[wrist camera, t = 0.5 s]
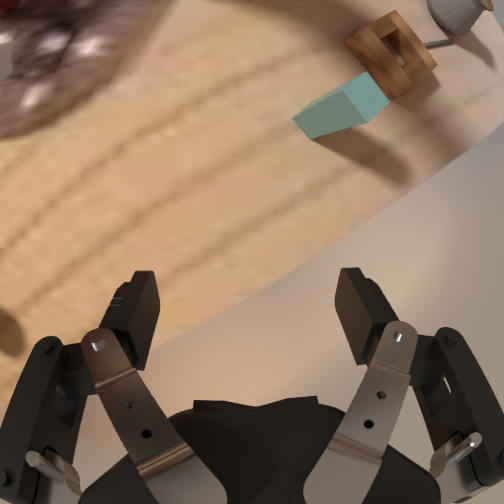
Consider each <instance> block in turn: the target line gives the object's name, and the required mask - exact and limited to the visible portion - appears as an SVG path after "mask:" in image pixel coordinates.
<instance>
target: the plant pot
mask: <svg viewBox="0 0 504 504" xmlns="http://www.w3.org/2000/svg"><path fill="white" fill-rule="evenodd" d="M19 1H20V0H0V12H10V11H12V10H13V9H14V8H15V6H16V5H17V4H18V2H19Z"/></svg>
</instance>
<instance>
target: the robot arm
mask: <svg viewBox="0 0 504 504" xmlns="http://www.w3.org/2000/svg"><path fill="white" fill-rule="evenodd" d="M335 308H336V312H337V314H338V317H339V319H340V322H341V324H342V327H343V329H344V332H345V335H346V337H347V340H348V343H349V345H350V348H351V351H352V354H353V356H354V359H355V362H356V364H357V365H363V364H366V365H367V367H368V369H367V371H366V373H365V376H364V378H363V380H362V382H361V384H360V386H359V388H358V390H357V393H356V394H355V396H354V398H353V400H352V402H351V404H350V406H349V408H348V410H347V412H346V413H345V412H343V411H342V410H339V409H337V408H335V407H331V406H328V405H324V404H319V403H318V399H317V396H308V397H297V398H287V399H283V400H280V401H276V402H273V403H269V404H266V405H262V406H258V407H254V406H247V405H243V404H238V403H233V402H228V401H210V400H194V403H193V408H192V409H188V410H184V411H181V412H179V413H176V414H174V415H172V416H171V417H169V418H167V417H166V415H165V414H164V412H163V411H162V410H161V408H160V407H159V405H158V404H157V402H156V401H155V399H154V398H153V396H152V395H151V393H150V391H149V390H148V388H147V387H146V385H145V384H144V382H143V381H142V379H141V377H140V376H139V374H138V372H137V371H136V370H141V371H144V369H145V365H146V361H147V357H148V354H149V350H150V346H151V342H152V338H153V335H154V331H155V327H156V324H157V320H158V317H159V313H160V298H159V294H158V289H157V284H156V279H155V275H154V272H153V271H135V273H134V275H133V277H132V279H131V281H130V282H124V283H123V284H122V285H121V286H120V287H119V288H118V289H117V290H116V292H115V294H114V296H113V299H112V300H111V302H110V306H108V308H107V310H106V313H105V315H104V317H103V319H102V321H101V323H100V325H99V328H97V329H93V330H91V331H90V332H88V333H87V334H86V335H85V336H84V337H83V339H82V341H81V342H80V343H75V344H69V345H63V344H62V342H61V340H60V339H59V338H58V337H55V336H48V337H45V338H42V339H41V340H39V341H38V342H37V343H36V344H35V346H34V347H33V349H32V352H31V354H30V356H29V358H28V360H27V362H26V364H25V367H24V369H23V371H22V373H21V376H20V378H19V380H18V383H17V385H16V387H15V390H14V392H13V395H12V397H11V400H10V403H9V405H8V408H7V411H6V413H5V416H4V419H3V422H2V425H1V428H0V498H2V499H3V500H6V501H7V502H9V503H11V504H451V503H462V502H464V501H466V500H468V499H470V498H472V497H474V496H476V495H478V494H480V493H481V492H483V491H485V490H487V489H488V488H490V487H492V486H493V485H495V484H497V483H498V482H500V481H501V480H503V479H504V414H503V411H502V409H501V407H500V405H499V403H498V401H497V399H496V397H495V395H494V392H493V390H492V389H491V386H490V384H489V382H488V381H487V379H486V377H485V375H484V373H483V371H482V369H481V367H480V366H479V364H478V362H477V360H476V359H475V357H474V355H473V353H472V351H471V350H470V348H469V346H468V344H467V343H466V341H465V340H464V338H463V336H462V335H461V334H460V333H459V332H458V331H456V330H455V329H452V328H449V327H443V328H440V329H439V330H438V331H437V332H436V335H435V336H425V335H418V334H417V332H416V330H415V328H413V327H412V326H411V325H410V324H408V323H406V322H402V321H399V319H398V317H397V316H396V314H395V312H394V310H393V309H392V307H391V305H390V304H389V302H388V301H387V299H386V297H385V295H384V294H383V292H382V290H381V289H380V287H379V286H378V284H376V283H375V282H374V281H373V280H371V279H370V278H365V276H364V275H363V273H362V272H361V270H360V268H358V267H355V268H342V269H341V271H340V275H339V280H338V285H337V289H336V294H335ZM444 378H446V379H447V382H448V384H449V386H450V389H451V394H450V392H449V390H448V388H447V385H446V383H445V381H444ZM409 385H410V386H412V387H413V390H414V392H415V395H416V398H417V401H418V403H419V406H420V409H421V412H422V414H423V418H424V421H425V423H426V426H427V429H428V433H429V435H430V439H431V442H432V445H433V449H434V452H435V453H434V454H433V455H432V458H431V461H430V466H431V467H430V469H429V472H428V471H427V470H425V469H423V468H422V467H421V466H419V465H418V464H416V463H415V462H413V461H412V460H410V459H409V458H407V457H406V456H404V455H403V454H401V453H400V452H399V451H397V450H396V449H395V448H393V447H392V446H390V445H389V444H388V442H389V439H390V437H391V434H392V432H393V429H394V426H395V424H396V421H397V418H398V416H399V413H400V410H401V407H402V404H403V401H404V398H405V395H406V392H407V389H408V386H409ZM94 394H98V395H99V397H100V399H101V402H102V404H103V406H104V408H105V410H106V412H107V414H108V416H109V418H110V420H111V422H112V424H113V426H114V428H115V430H116V432H117V434H118V436H119V438H120V439H121V441H122V443H123V445H124V447H125V448H126V450H127V452H128V454H127V455H125V456H124V457H123V458H122V459H121V460H120V461H119V462H117V463H116V464H115V465H114V466H113V467H112V468H110V469H109V470H108V471H107V472H106V473H104V474H103V475H102V476H101V477H100V478H99V479H97V480H96V481H95V482H94V483H93V484H91V485H90V486H89V487H88V488H87V489H85V491H84V492H83V493H82V492H81V489H80V479H79V475H78V472H77V471H76V469H75V468H74V467H73V466H72V464H73V458H74V453H75V448H76V443H77V438H78V433H79V429H80V424H81V420H82V416H83V412H84V408H85V404H86V400H87V397H88V395H94Z"/></svg>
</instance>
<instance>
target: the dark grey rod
mask: <svg viewBox="0 0 504 504" xmlns="http://www.w3.org/2000/svg"><path fill="white" fill-rule="evenodd" d="M453 42H454V40H453V39H448V40H441V41H435V42H429V43H423V45H424V46H425V47H430V46H436V45H442V44H448V43H453Z"/></svg>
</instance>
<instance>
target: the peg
mask: <svg viewBox="0 0 504 504" xmlns="http://www.w3.org/2000/svg"><path fill="white" fill-rule="evenodd" d="M389 103H390V102H389V101H388V99H387V98H386V96H385V95H384V94H383V92H382V91H381V90H380V88H379V87H378V86H377V84H376V83H375V82H374V80H373V79H372V78H371V77H370V75H369V74H368V73H367V71H366V72H364V73H362V74H360V75H358V76H357V77H355V78H353V79H351V80H349V81H348V82H346V83H344V84H342V85H341V86H339V87H337V88H335V89H334V90H332V91H330V92H328V93H327V94H325V95H323V96H322V97H320V98H318V99H317V100H315V101H313V102H312V103H310V104H309V105H308V106H307V107H305V108H304V109H303V110H302V111H300V112H299V113H298V114H297V115H295V116H294V117H293V118H292V119H293V120H294V121H295V122H296V124H297V125H298V126H299V127H300V128H301V129H302V131H303V132H304V133H305V134H306V135H307V137H308V138H309V139H313V138H316V137H319V136H323V135H326V134H329V133H332V132H336V131H339V130H343V129H346V128H350V127H353V126H357V125H360V124H364V123H368V122H369V121H370V120H371V119H372V118H373V117H374V116H375V115H376V114H378V113H379V112H380V111H381V110H382V109H383V108H384V107H385V106H387V105H388V104H389Z"/></svg>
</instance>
